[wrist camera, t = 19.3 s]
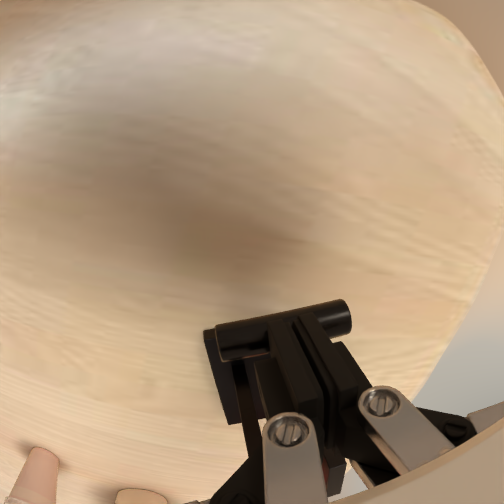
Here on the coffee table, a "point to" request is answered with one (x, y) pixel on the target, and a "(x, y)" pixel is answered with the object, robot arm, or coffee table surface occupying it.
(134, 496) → the cup
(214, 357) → the bracket
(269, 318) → the tap lever
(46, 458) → the smoothie
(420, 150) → the coffee table surface
